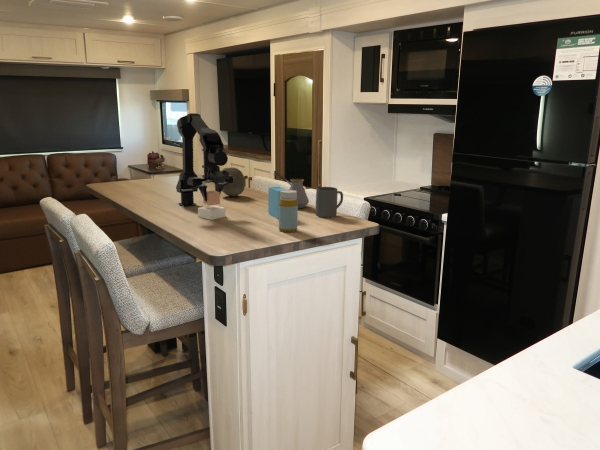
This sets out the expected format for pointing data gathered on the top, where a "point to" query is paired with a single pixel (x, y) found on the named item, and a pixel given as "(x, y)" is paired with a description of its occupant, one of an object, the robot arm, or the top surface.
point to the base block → (211, 212)
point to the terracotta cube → (212, 198)
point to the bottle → (288, 211)
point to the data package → (274, 201)
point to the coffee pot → (297, 186)
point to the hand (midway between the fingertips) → (211, 200)
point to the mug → (327, 201)
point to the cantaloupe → (238, 184)
